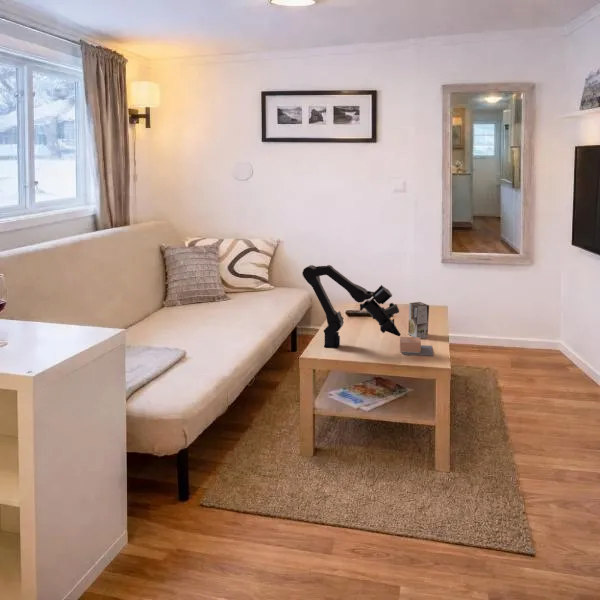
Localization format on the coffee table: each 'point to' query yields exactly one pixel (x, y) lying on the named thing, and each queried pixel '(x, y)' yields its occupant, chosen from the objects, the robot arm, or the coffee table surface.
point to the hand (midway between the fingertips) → (399, 335)
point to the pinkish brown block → (410, 344)
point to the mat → (422, 351)
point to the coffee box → (418, 319)
